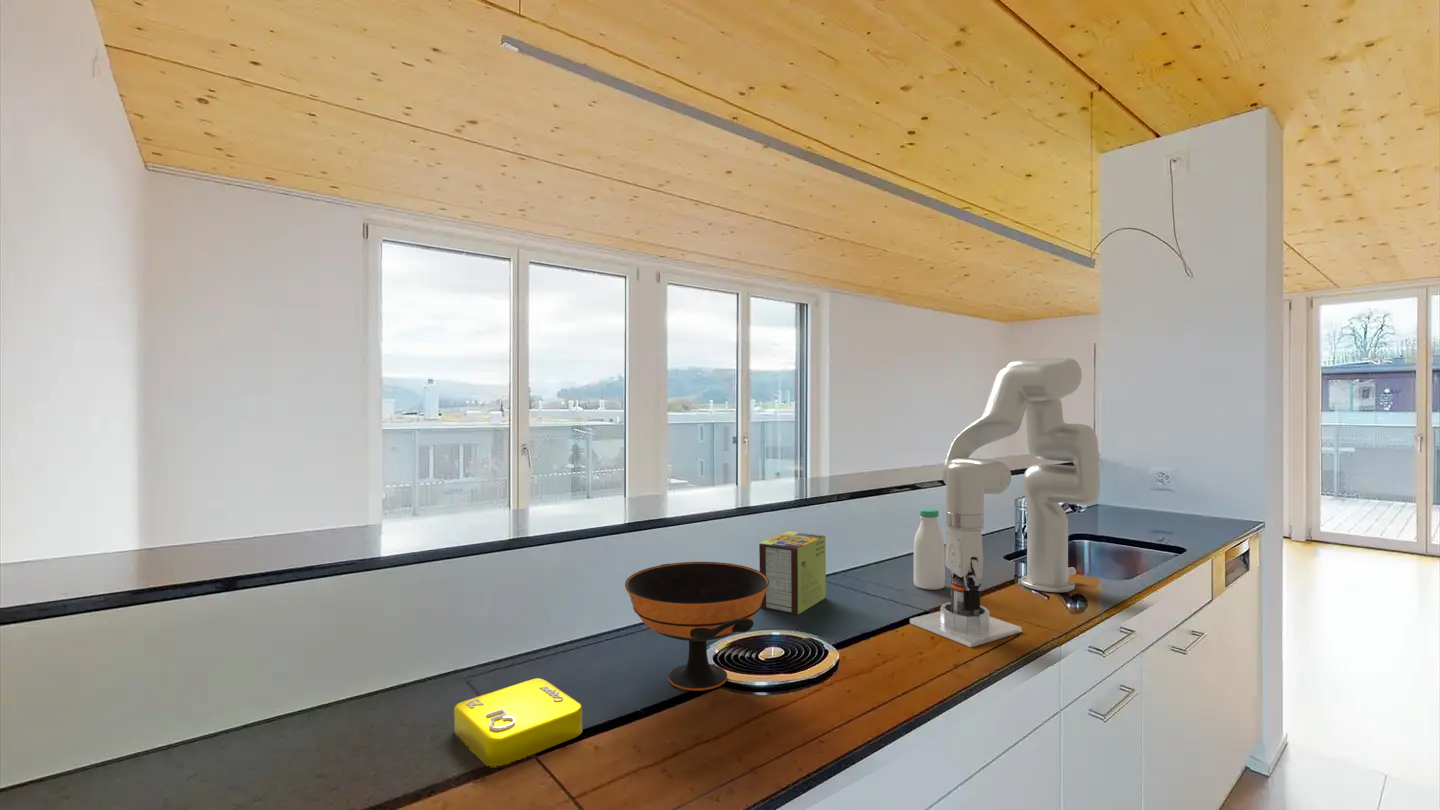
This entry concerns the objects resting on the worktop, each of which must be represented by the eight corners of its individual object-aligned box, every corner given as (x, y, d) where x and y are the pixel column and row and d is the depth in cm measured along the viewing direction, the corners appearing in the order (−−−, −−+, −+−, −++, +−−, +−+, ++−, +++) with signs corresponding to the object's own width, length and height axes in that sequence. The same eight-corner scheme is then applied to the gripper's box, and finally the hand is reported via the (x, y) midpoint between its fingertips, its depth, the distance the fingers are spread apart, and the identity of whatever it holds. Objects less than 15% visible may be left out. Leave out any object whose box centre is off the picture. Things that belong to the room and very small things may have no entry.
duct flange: (959, 610, 154) (959, 593, 154) (1021, 631, 140) (1021, 613, 140) (909, 623, 146) (909, 605, 146) (970, 647, 132) (970, 627, 132)
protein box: (826, 597, 164) (826, 535, 164) (798, 615, 151) (797, 547, 151) (788, 590, 170) (788, 530, 169) (758, 607, 157) (758, 542, 157)
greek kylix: (812, 708, 107) (812, 599, 107) (661, 742, 97) (660, 622, 97) (722, 633, 140) (722, 550, 140) (603, 653, 130) (602, 563, 130)
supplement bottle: (954, 615, 147) (956, 564, 147) (982, 621, 144) (984, 569, 144) (946, 622, 142) (947, 570, 142) (975, 629, 139) (976, 575, 139)
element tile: (587, 735, 100) (587, 703, 100) (490, 774, 90) (490, 739, 90) (541, 700, 111) (540, 672, 111) (450, 732, 101) (449, 701, 101)
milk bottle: (948, 590, 169) (948, 512, 169) (918, 590, 169) (918, 512, 169) (939, 581, 177) (939, 506, 176) (910, 581, 177) (910, 507, 177)
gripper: (934, 513, 151) (934, 591, 151) (962, 529, 134) (962, 617, 134) (966, 512, 151) (966, 590, 152) (999, 528, 134) (999, 617, 134)
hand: (964, 602), depth 143 cm, fingers open, 6 cm apart
